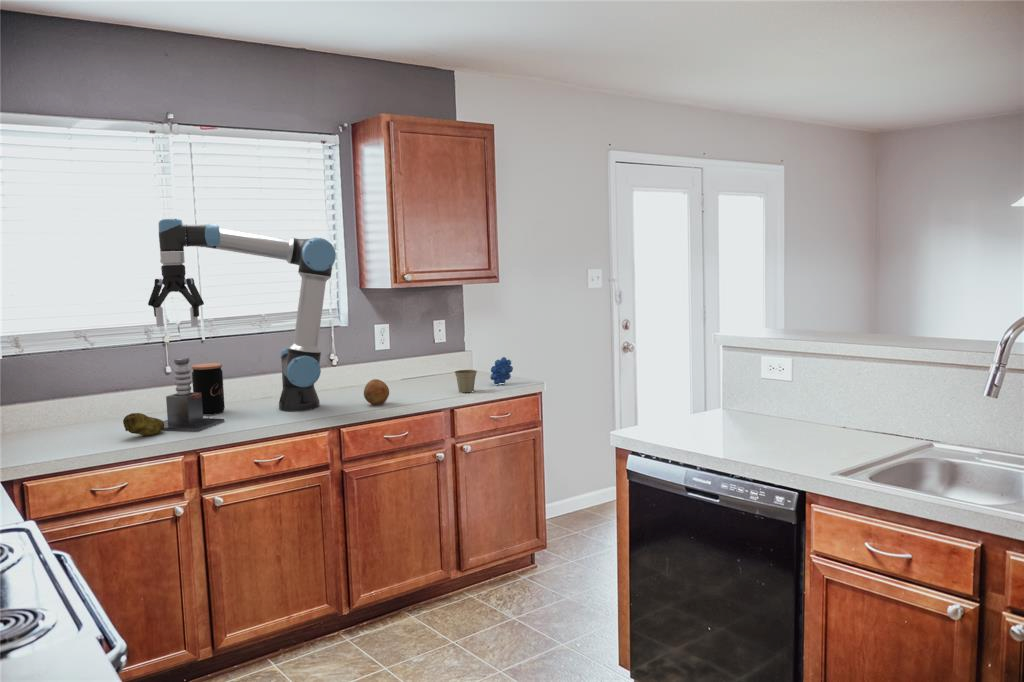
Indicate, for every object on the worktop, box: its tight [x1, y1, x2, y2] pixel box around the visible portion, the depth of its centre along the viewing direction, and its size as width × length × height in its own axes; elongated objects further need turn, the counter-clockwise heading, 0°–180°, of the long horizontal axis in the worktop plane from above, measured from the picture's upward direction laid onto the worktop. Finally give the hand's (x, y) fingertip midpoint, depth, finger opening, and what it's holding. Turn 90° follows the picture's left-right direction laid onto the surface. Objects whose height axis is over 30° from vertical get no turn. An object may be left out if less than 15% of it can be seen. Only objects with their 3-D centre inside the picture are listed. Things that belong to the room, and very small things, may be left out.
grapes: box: [490, 356, 514, 385], centre depth 353 cm, size 12×7×12 cm, turn 125°
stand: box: [162, 391, 226, 433], centre depth 281 cm, size 20×16×11 cm
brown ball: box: [363, 378, 390, 406], centre depth 312 cm, size 10×10×10 cm
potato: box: [122, 412, 164, 437], centre depth 267 cm, size 8×13×8 cm, turn 125°
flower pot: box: [453, 369, 478, 393], centre depth 336 cm, size 9×9×9 cm
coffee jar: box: [191, 362, 225, 416], centre depth 303 cm, size 11×11×18 cm
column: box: [173, 357, 192, 396], centre depth 280 cm, size 5×5×22 cm
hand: (177, 326), depth 278 cm, fingers open, 13 cm apart
